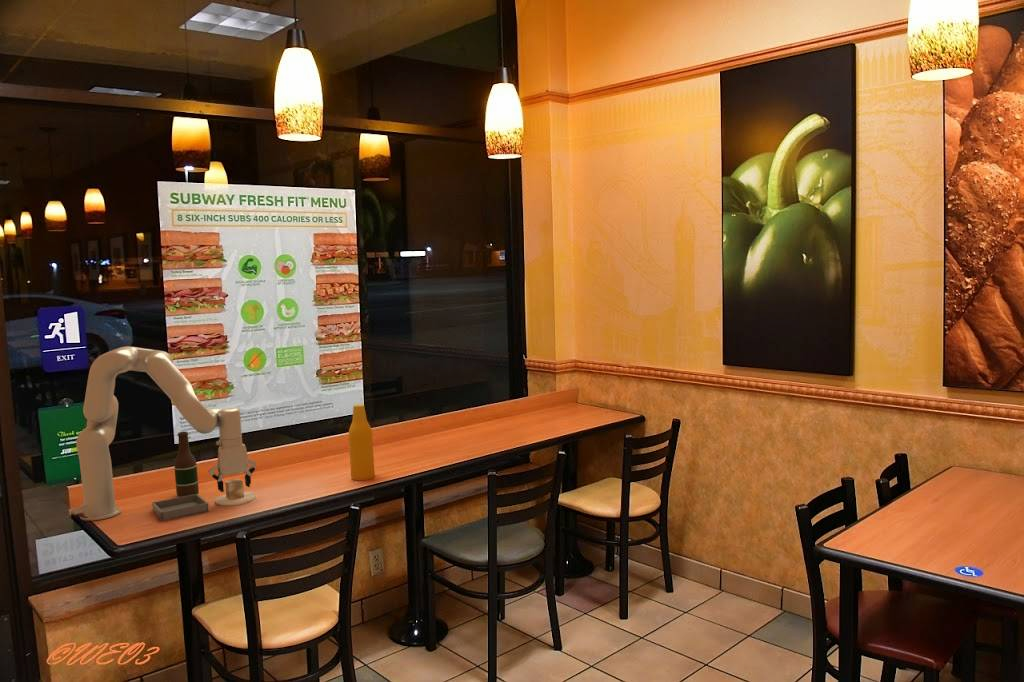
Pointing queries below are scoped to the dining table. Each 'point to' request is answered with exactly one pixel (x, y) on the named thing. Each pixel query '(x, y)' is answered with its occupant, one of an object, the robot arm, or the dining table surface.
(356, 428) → the beer bottle
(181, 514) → the gray bin
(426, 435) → the dining table surface
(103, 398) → the robot arm
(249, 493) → the off-white plate
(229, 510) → the dining table surface
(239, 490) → the birch block
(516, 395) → the dining table surface
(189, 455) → the beer bottle
